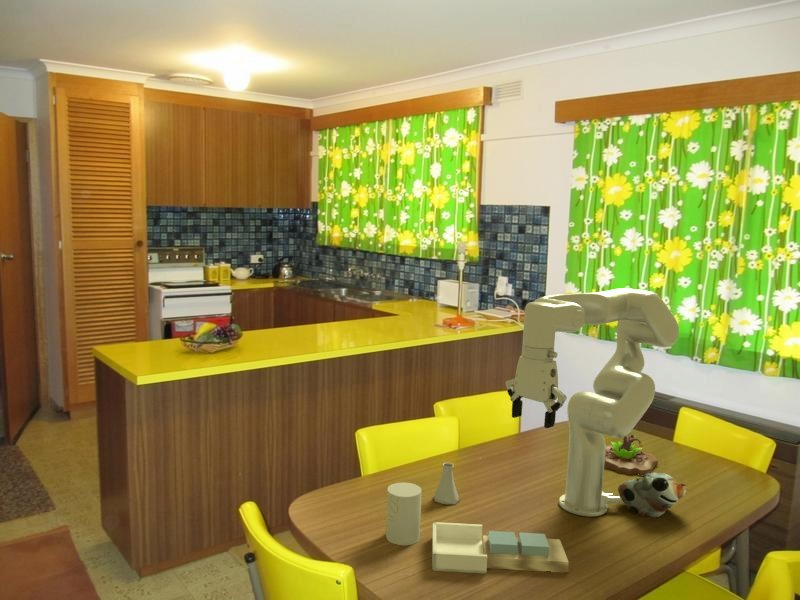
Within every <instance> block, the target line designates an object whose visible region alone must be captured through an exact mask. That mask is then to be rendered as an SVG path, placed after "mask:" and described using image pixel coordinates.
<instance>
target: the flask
mask: <svg viewBox="0 0 800 600" xmlns="http://www.w3.org/2000/svg"><path fill="white" fill-rule="evenodd" d="M441 465H442V474H441V478H440V481H439V483H438V486H437V488H436V490H435V492H434V495H433V499H434V502H435V503H438V504H441V505H456V504H457V503H458V502H459V501H460V497H459V493H458V491H457V487H456V484H455V480H454V472H453V469H454V467H455V466H454V465H455V464H454V463H452V462H443V463H442V464H441Z"/></svg>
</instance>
